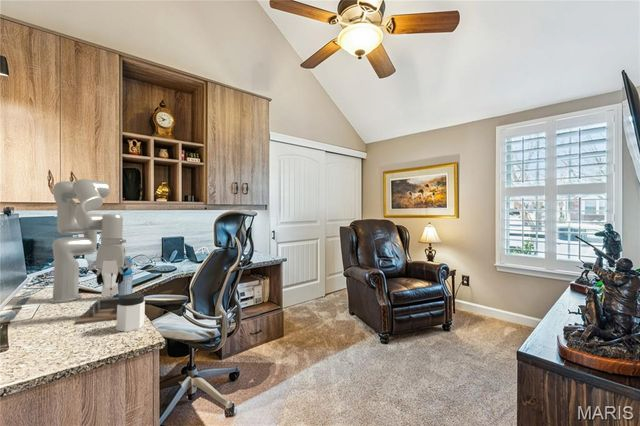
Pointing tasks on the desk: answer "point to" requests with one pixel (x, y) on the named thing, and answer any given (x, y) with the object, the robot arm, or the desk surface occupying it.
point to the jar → (130, 312)
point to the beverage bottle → (125, 282)
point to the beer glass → (109, 278)
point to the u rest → (100, 312)
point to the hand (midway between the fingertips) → (110, 283)
